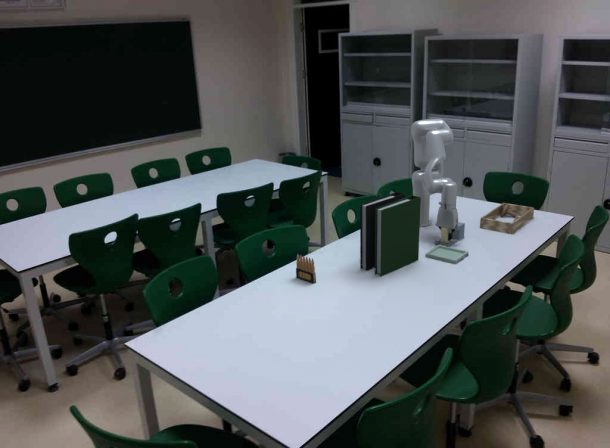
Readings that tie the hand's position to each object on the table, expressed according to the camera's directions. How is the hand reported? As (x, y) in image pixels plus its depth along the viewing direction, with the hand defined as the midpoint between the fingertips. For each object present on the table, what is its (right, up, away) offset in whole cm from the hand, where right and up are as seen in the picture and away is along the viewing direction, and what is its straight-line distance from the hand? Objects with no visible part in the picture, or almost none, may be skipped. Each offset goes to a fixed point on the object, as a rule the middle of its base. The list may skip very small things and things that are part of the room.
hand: (446, 238), depth 280 cm
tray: (-4, -8, -16) cm, 18 cm away
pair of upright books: (-34, -12, -22) cm, 42 cm away
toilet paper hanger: (+43, +9, +29) cm, 52 cm away
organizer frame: (+42, +9, +26) cm, 50 cm away
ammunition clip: (-74, -18, -36) cm, 84 cm away
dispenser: (+2, -1, +3) cm, 4 cm away
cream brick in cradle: (0, -2, +1) cm, 2 cm away
